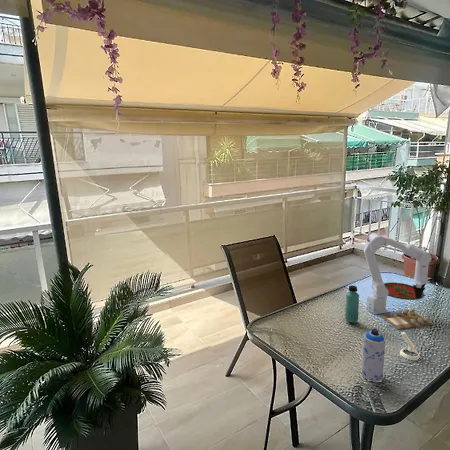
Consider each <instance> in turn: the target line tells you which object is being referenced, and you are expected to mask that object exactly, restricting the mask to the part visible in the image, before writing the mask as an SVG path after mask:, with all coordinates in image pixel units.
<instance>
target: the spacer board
mask: <svg viewBox="0 0 450 450" xmlns="http://www.w3.org/2000/svg"><path fill="white" fill-rule="evenodd" d="M409 312H411V313H416V314H417V315H419V316H418V320H417V321H416V319H411V320H409V319H408V318H407V314H408V313H409ZM381 319H383V320H384V321H386V322H387V323H389V325H391V326H393V327H394V328H395V329H397V330H406V329H411V328H413V329H414V328H420V327H425V326H426V325H427V326H431V325H432V326H433V325H434V323H433V322H432V321H431V317H428V316H425V317H424V316H423V315H420V314H419V313H417V312H416V311H415V308H413V307H410V308H409V309H407V308H403V312H402V310H401V309H397V310H396V314H389V315H382V316H381Z"/></svg>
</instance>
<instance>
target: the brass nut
mask: <svg viewBox="0 0 450 450" xmlns="http://www.w3.org/2000/svg"><path fill="white" fill-rule="evenodd" d="M416 313H417V312H415V313H411V312H410V311H408V314H407V318H408V319H409V320H411V319H416V321H417V320H418V316H419V315H420V314H419V315H417V314H418V313H417V314H416Z"/></svg>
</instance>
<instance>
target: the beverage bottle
mask: <svg viewBox="0 0 450 450" xmlns="http://www.w3.org/2000/svg"><path fill="white" fill-rule="evenodd" d="M345 296H346V298H345V313H344V316H345V321H347V322H349V323H357V322H358V320H359V316H360V315H359V307H360V306H359V305H360V294H359V293H358V286H357V285H349V286H348V292H346V293H345Z"/></svg>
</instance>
